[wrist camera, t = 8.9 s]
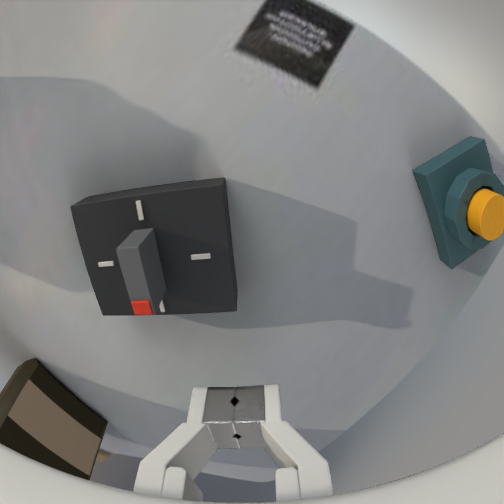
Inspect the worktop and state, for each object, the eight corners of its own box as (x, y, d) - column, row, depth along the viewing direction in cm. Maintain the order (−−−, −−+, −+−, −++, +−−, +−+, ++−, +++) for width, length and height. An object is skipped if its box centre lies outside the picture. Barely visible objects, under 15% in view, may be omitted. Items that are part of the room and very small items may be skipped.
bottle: (87, 429, 37) (50, 548, 14) (16, 365, 31) (-50, 485, 8) (114, 423, 35) (77, 562, 13) (34, 352, 30) (-43, 495, 7)
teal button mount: (490, 223, 24) (513, 236, 20) (440, 260, 25) (461, 278, 22) (469, 136, 20) (497, 141, 17) (412, 170, 22) (437, 179, 18)
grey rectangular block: (133, 229, 20) (114, 250, 17) (153, 227, 20) (136, 248, 17) (148, 289, 22) (133, 317, 19) (166, 288, 22) (155, 317, 19)
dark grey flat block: (225, 177, 22) (222, 185, 19) (237, 291, 26) (236, 312, 23) (87, 196, 22) (69, 206, 19) (114, 297, 26) (102, 316, 23)
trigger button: (497, 219, 20) (510, 227, 18) (470, 240, 21) (483, 249, 19) (490, 180, 18) (505, 186, 16) (461, 200, 19) (476, 208, 17)
